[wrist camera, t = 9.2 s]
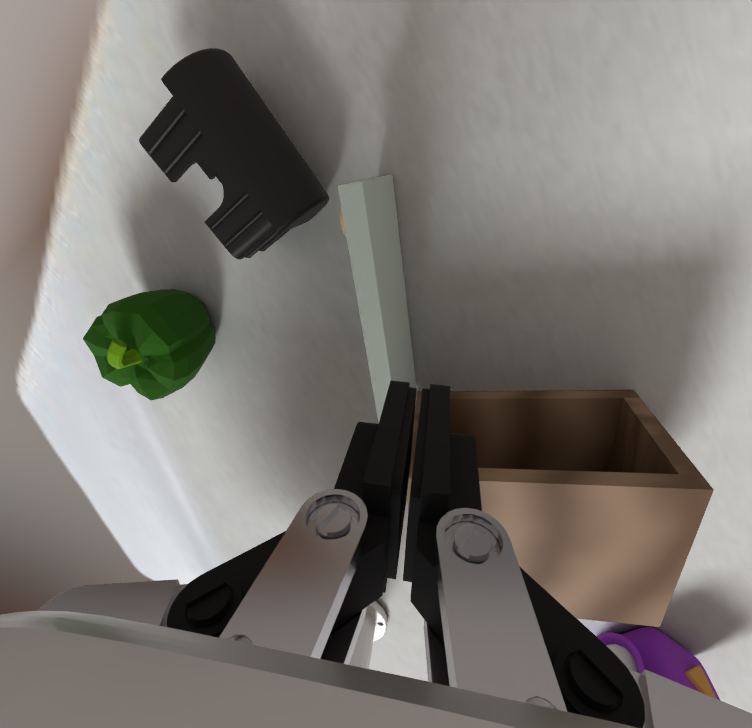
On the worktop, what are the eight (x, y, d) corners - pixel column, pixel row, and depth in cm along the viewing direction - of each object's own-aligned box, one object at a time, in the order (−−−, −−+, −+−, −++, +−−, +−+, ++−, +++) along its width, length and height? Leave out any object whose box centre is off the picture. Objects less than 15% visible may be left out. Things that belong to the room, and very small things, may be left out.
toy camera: (616, 600, 44) (657, 708, 35) (713, 647, 45) (776, 764, 36) (554, 637, 49) (577, 739, 41) (642, 679, 50) (682, 788, 42)
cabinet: (426, 500, 42) (418, 601, 32) (417, 391, 35) (405, 478, 26) (606, 509, 38) (659, 627, 28) (633, 389, 31) (713, 489, 22)
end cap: (342, 194, 28) (314, 203, 22) (277, 248, 31) (236, 269, 25) (251, 61, 25) (192, 32, 20) (188, 135, 28) (120, 128, 22)
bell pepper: (195, 374, 39) (121, 435, 30) (133, 310, 36) (33, 357, 28) (249, 334, 35) (183, 390, 27) (184, 260, 33) (90, 296, 24)
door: (416, 391, 35) (404, 474, 26) (391, 392, 35) (370, 474, 26) (392, 174, 27) (362, 181, 17) (359, 179, 27) (313, 189, 18)
